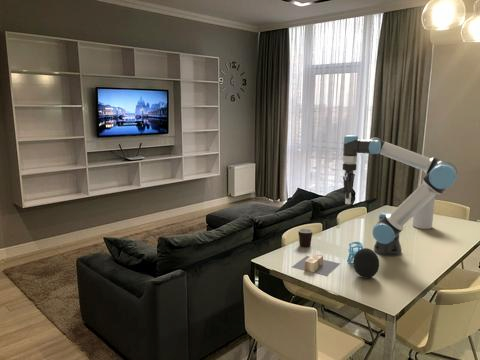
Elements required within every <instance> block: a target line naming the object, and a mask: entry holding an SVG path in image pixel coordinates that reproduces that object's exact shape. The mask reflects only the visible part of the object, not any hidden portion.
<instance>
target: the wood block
mask: <svg viewBox="0 0 480 360" xmlns="http://www.w3.org/2000/svg"><path fill="white" fill-rule="evenodd" d="M323 260H324V256H323V255H320V254H318V253H317V254H316V253H313V254H312V255H311V256H310V258H308V259H307V260H306V261H305V270H306V271H305V272H308V271H310V272H309V273H312V272H314V271H316V270H317V269H318V268H319V267H320V266H322V265H323Z"/></svg>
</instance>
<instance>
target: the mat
mask: <svg viewBox="0 0 480 360" xmlns="http://www.w3.org/2000/svg"><path fill="white" fill-rule="evenodd" d="M310 257H311V256H310V255H306V256H305V257H303V258H302V259H301V260H299V261H298V262H296V263H295V264H294V265H292V266H291V268H292V269H297V270H301V271H304V272H308V273H312V274H317V275H320V276H325V277H328V276H329V275H330V274H331V273H332V272H334V271H335V270H336V268H338V267H339V266H340V265H341V263H339V262H335V261H331V260H327V259H323V265H322V266H320V267H319V268H318V269H317V270H316V271H314V272H310V271H306V270H305V261H306V260H307V259H308V258H310Z"/></svg>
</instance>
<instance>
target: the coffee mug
mask: <svg viewBox="0 0 480 360" xmlns="http://www.w3.org/2000/svg"><path fill="white" fill-rule="evenodd" d="M297 231H298V241H299V247H302V248H310V247H311V243H312V238H313V230H312V229H310V228H300V229H299V228H298V230H297Z"/></svg>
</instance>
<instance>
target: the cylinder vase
mask: <svg viewBox="0 0 480 360" xmlns="http://www.w3.org/2000/svg"><path fill="white" fill-rule="evenodd" d="M435 199H436V195H435V196H434V197H433V198H432V199H431V200H430V201H429V202H428V203H426V204H425V205H424V206H423V207H422V208H421V209H420V210H419V211H418V212H417V213H416V214H415V215H414V216H413V217H412V226H413V227H414V228H416V229H420V230H430V229H432V228H433V224H434V223H433V220H434V212H435V211H434V210H435Z"/></svg>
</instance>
